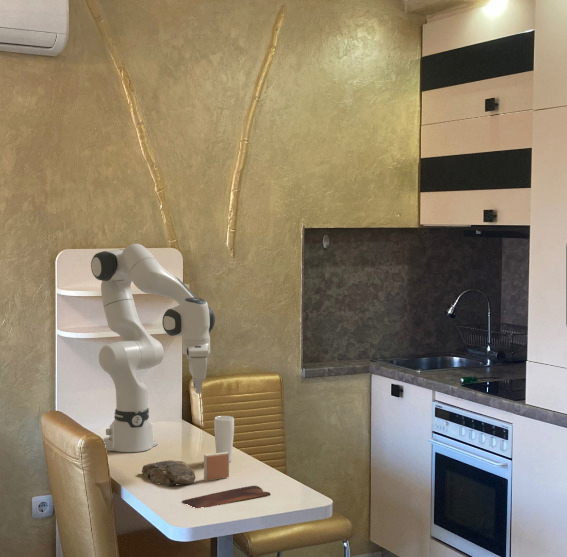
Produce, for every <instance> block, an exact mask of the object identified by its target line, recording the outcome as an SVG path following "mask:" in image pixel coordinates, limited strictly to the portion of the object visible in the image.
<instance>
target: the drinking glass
mask: <svg viewBox="0 0 567 557" xmlns="http://www.w3.org/2000/svg"><path fill="white" fill-rule="evenodd" d="M213 422H214V423H213V424H214V427H213V428H214V429H213V431H214V444H215V453H222V452H228V453H229V463H231V462H232V460H233V447H234V446H233V445H234V435H235V418H234V416H231V415H217V416H215V417H214V421H213Z"/></svg>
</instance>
